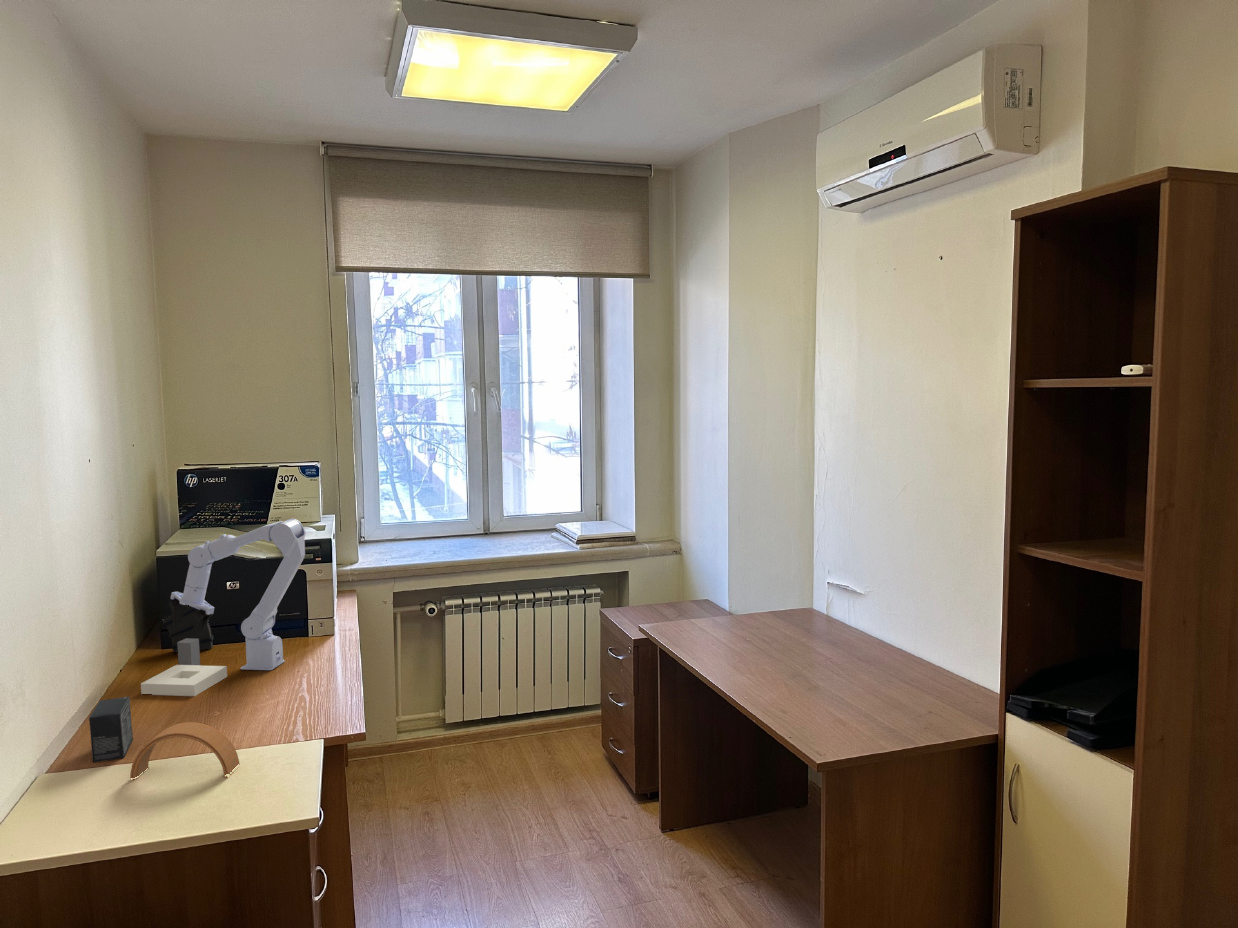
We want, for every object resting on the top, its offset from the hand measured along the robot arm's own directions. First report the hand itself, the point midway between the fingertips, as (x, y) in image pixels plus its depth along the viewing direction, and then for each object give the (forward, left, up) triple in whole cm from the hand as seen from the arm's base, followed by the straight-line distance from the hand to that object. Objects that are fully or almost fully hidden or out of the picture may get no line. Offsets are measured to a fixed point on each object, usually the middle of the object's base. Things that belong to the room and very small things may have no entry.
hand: (186, 629), depth 243 cm
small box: (-18, +55, -11) cm, 59 cm away
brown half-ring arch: (-41, +63, -11) cm, 76 cm away
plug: (-1, 0, -11) cm, 11 cm away
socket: (-9, +14, -11) cm, 20 cm away
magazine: (+9, -15, -11) cm, 21 cm away
